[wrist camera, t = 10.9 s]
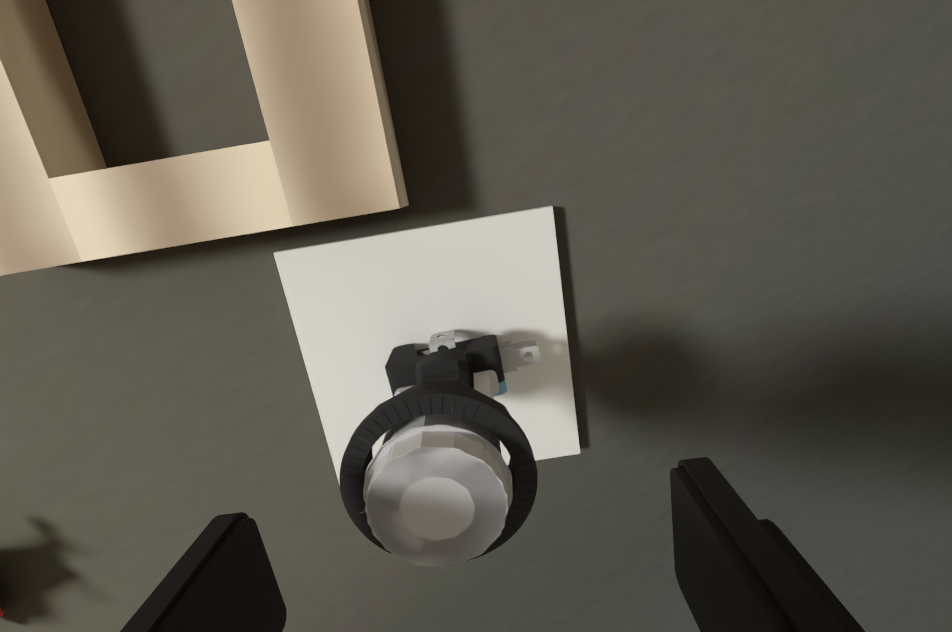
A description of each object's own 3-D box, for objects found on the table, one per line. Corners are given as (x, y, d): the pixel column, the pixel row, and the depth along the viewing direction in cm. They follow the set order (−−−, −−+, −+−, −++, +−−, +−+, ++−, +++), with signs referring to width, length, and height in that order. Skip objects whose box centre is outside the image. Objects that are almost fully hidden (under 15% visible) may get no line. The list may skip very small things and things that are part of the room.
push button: (524, 287, 20) (580, 381, 11) (544, 395, 22) (608, 564, 12) (377, 318, 20) (300, 436, 11) (406, 423, 22) (362, 610, 12)
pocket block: (313, -282, 15) (278, -391, 12) (408, 205, 20) (399, 208, 17) (-148, -195, 16) (-287, -282, 13) (48, 265, 20) (-22, 279, 17)
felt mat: (550, 205, 20) (552, 206, 19) (577, 446, 23) (580, 453, 22) (279, 250, 20) (273, 252, 19) (344, 483, 23) (341, 490, 23)
